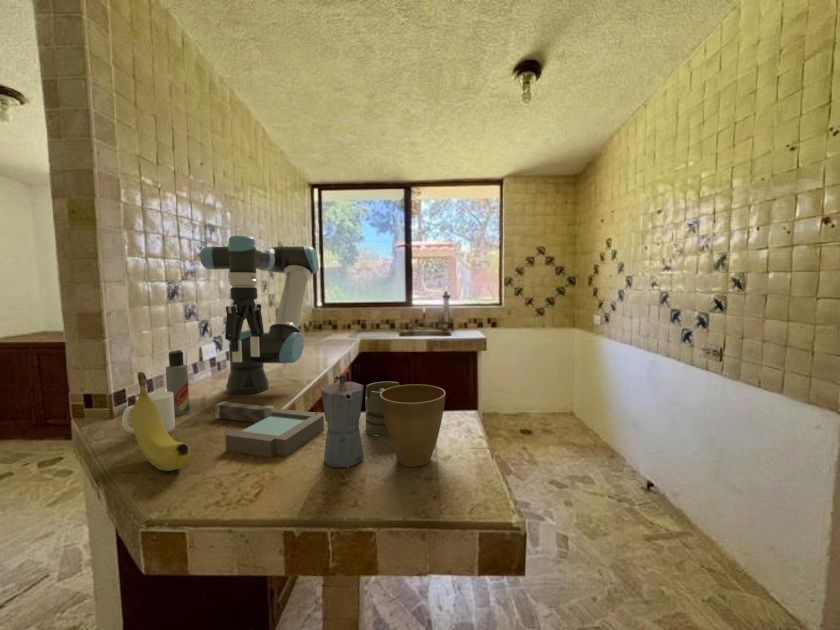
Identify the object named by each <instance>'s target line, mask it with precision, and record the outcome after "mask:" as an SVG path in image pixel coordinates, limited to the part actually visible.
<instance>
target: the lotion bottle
mask: <svg viewBox="0 0 840 630" xmlns="http://www.w3.org/2000/svg"><path fill="white" fill-rule="evenodd" d="M184 363H185V362H184V352H183V351H182V350H181V349H177V350H173V351H170V352H168V364H169V365H168V366H166V367H165V376H166V379H165V380H166V392H172V393H173V398H174V415H175V417H176V416H182V415H185V414H188V413H189V412H190V393H189V391H190V389H189V370H188V365H187V364H184Z"/></svg>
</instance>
